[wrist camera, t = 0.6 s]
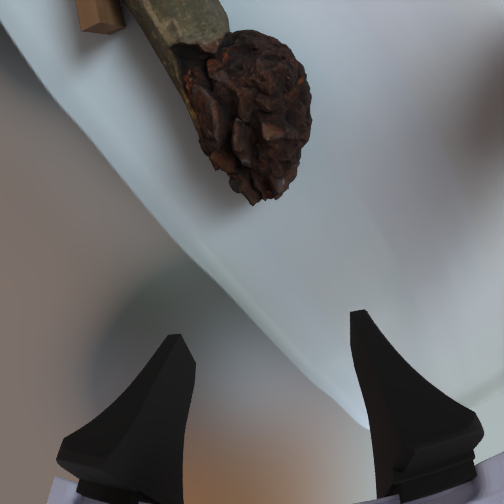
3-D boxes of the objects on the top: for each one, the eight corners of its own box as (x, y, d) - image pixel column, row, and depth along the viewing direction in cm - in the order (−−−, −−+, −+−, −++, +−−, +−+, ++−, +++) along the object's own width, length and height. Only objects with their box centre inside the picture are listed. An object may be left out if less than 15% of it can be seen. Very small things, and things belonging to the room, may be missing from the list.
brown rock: (117, -25, 13) (74, -46, 8) (211, -74, 11) (195, -114, 7) (238, 194, 21) (230, 234, 16) (333, 154, 19) (357, 182, 15)
